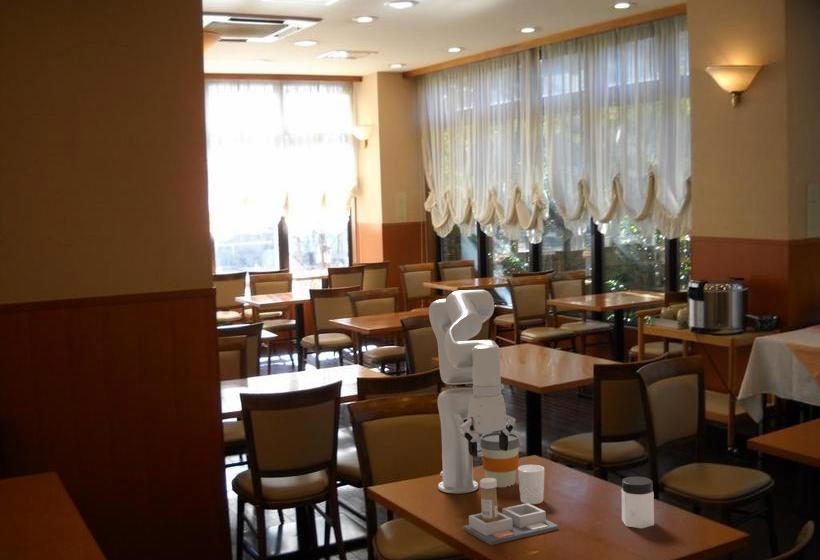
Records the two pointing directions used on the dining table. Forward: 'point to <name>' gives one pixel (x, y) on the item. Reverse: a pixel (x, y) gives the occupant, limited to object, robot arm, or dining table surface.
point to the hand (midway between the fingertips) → (488, 452)
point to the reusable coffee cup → (500, 458)
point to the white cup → (531, 483)
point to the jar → (637, 502)
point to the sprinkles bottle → (489, 499)
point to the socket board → (510, 524)
